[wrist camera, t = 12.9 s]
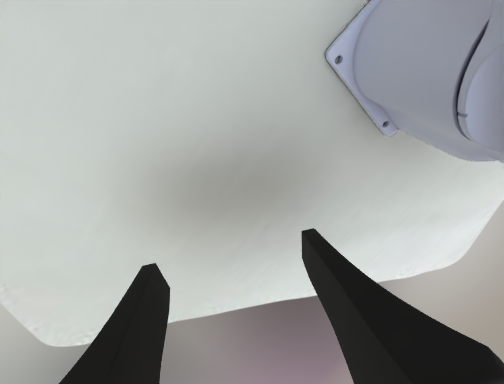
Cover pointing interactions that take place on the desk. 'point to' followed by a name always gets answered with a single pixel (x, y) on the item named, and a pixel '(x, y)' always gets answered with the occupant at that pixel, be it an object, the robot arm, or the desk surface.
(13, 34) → the desk surface
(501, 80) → the robot arm
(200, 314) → the desk surface
